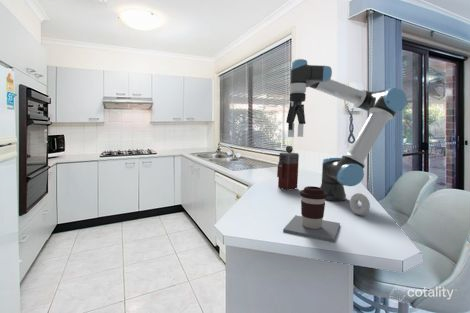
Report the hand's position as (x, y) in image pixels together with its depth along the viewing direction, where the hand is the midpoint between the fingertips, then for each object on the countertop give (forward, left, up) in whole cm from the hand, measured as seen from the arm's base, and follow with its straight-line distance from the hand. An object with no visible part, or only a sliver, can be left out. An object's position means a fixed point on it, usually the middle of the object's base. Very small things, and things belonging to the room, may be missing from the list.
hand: (295, 136), depth 126 cm
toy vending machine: (-18, -33, -35) cm, 51 cm away
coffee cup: (+11, +29, -34) cm, 46 cm away
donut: (-20, +23, -35) cm, 46 cm away
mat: (+11, +29, -35) cm, 46 cm away
